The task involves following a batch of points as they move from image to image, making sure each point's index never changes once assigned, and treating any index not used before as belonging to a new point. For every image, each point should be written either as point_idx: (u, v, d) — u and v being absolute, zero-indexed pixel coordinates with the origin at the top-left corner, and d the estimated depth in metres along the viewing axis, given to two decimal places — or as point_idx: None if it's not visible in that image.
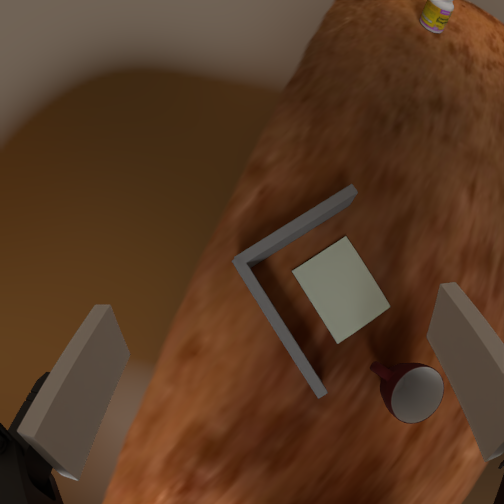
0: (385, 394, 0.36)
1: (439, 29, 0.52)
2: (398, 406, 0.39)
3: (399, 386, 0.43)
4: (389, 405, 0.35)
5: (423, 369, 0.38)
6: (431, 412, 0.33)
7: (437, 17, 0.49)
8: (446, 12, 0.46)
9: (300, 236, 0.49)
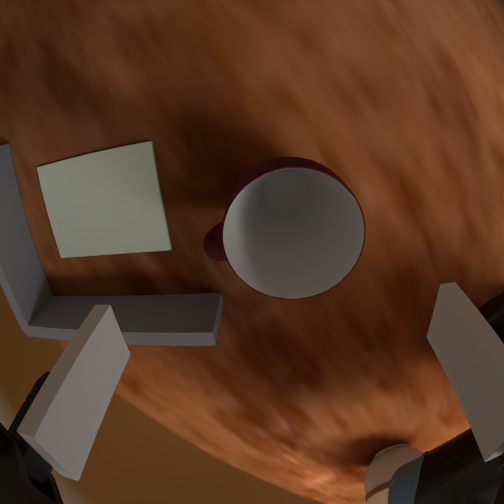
0: None
1: None
2: (322, 229, 0.23)
3: (301, 187, 0.26)
4: None
5: None
6: (361, 222, 0.17)
7: None
8: None
9: (28, 225, 0.29)
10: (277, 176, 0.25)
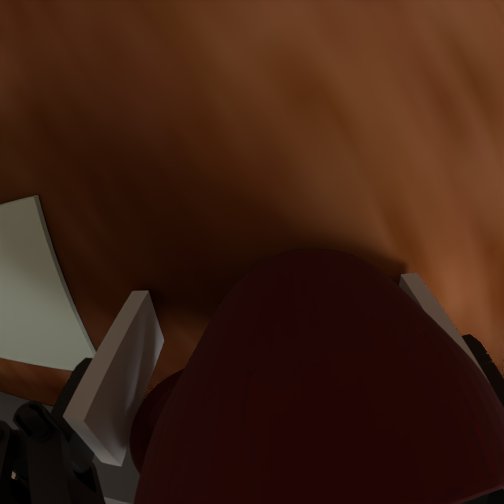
0: None
1: None
2: None
3: None
4: None
5: None
6: None
7: None
8: None
9: None
10: None
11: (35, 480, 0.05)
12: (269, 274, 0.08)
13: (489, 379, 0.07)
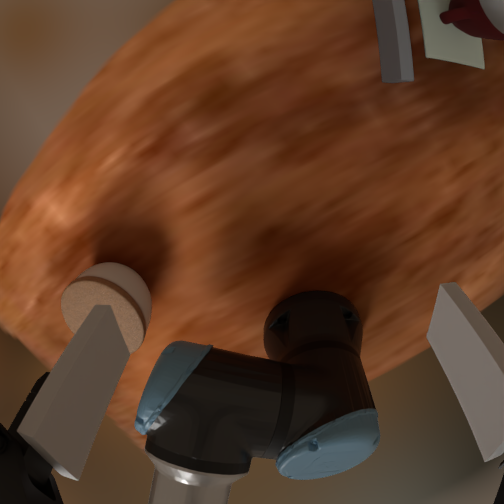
0: (483, 29, 0.20)
1: None
2: None
3: None
4: (498, 33, 0.19)
5: None
6: None
7: None
8: None
9: None
10: None
11: None
12: None
13: None
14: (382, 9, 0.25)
